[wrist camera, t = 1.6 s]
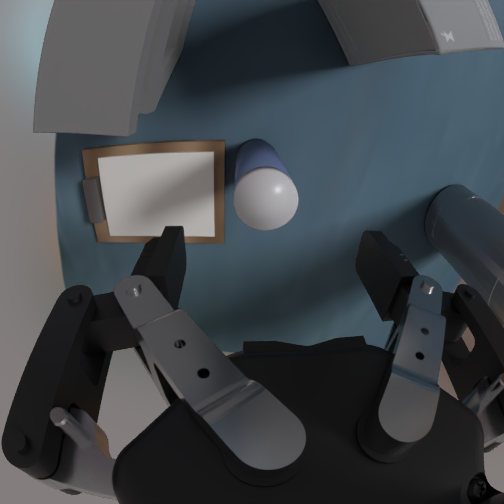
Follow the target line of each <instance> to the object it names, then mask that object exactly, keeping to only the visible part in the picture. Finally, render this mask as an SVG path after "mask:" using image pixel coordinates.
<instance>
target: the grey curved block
mask: <svg viewBox="0 0 504 504" xmlns="http://www.w3.org/2000/svg"><path fill="white" fill-rule="evenodd" d="M195 2H196V0H54V4H53V7H52V10H51V14H50V18H49V21H48V26H47V29H46V34H45V38H44V43H43V48H42V53H41V59H40V64H39V71H38V78H37V87H36V95H35V107H34V125H33V132H35V133H38V132H41V133H42V132H43V133H45V132H46V133H78V134H95V135H109V136H121V137H129V136H131V135H133V134H135V133H136V129H137V121H138V114H139V113H140V114H148V113H151V112H155V110H156V107H157V105H158V102H159V100H160V98H161V95H162V93H163V91H164V88H165V86H166V84H167V82H168V80H169V77H170V75H171V73H172V71H173V69H174V67H175V65H176V63H177V61H178V59H179V57H180V55H181V53H182V50H183V46H184V42H185V38H186V34H187V30H188V26H189V23H190V19H191V15H192V12H193V9H194V5H195Z"/></svg>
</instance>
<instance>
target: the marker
mask: <svg viewBox="0 0 504 504" xmlns="http://www.w3.org/2000/svg"><path fill="white" fill-rule="evenodd" d="M297 206H298V193H297V190H296V188H295V186H294V184H293V182H292V180H291V178H290V176H289V174H288V173H287V171H286V169H285V167H284V165H283V163H282V162H281V160H280V158H279V156H278V154H277V152H276V151H275V149H274V148H273V147H272V146H271V145H270V144H269V143H267V142H266V141H264V140H261V139H251V140H248V141H246V142H245V143H244V144H243V145H242V146H241V148H240V149H239V151H238V153H237V156H236V169H235V188H234V207H235V210H236V213H237V215H238V217H239V218H240V219H241V220H242V221H243V222H244V223H245V224H246V225H248V226H250V227H252V228H254V229H258V230H272V229H276V228H279V227H281V226H283V225H284V224H286V223H287V222H288V221H289V220H290V219H291V218H292V217H293V215H294V214H295V212H296V209H297Z"/></svg>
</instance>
